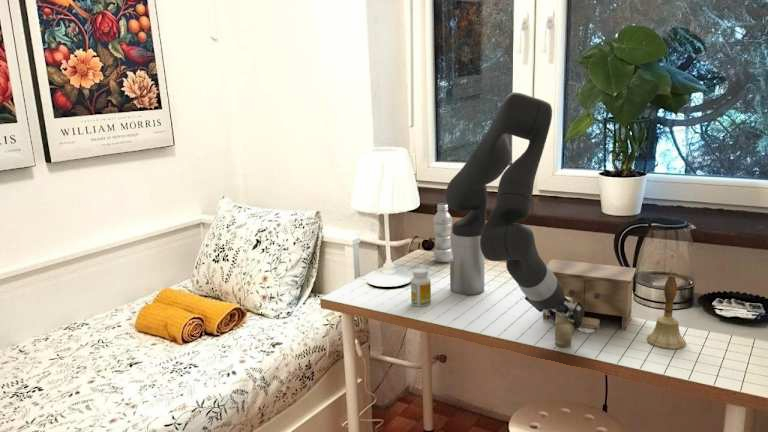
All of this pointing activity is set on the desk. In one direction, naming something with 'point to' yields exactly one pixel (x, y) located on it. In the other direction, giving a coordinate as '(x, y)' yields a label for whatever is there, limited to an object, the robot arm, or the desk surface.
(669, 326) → the hand bell
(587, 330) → the token
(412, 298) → the supplement bottle
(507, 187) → the robot arm
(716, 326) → the desk surface
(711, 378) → the desk surface
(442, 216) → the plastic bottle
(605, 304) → the cabinet
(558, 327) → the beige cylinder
